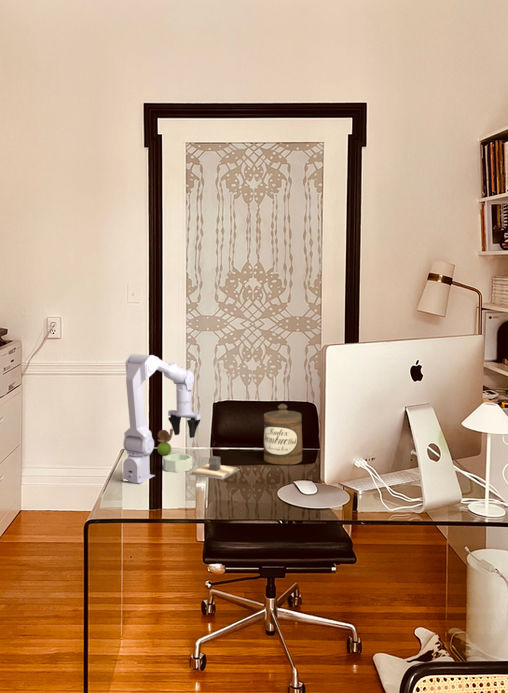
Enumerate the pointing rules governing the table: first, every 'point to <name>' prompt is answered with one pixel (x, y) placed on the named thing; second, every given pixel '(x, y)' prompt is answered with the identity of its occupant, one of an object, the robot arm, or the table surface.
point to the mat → (215, 477)
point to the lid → (214, 469)
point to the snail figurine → (164, 442)
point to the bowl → (177, 462)
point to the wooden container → (283, 436)
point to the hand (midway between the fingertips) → (184, 436)
